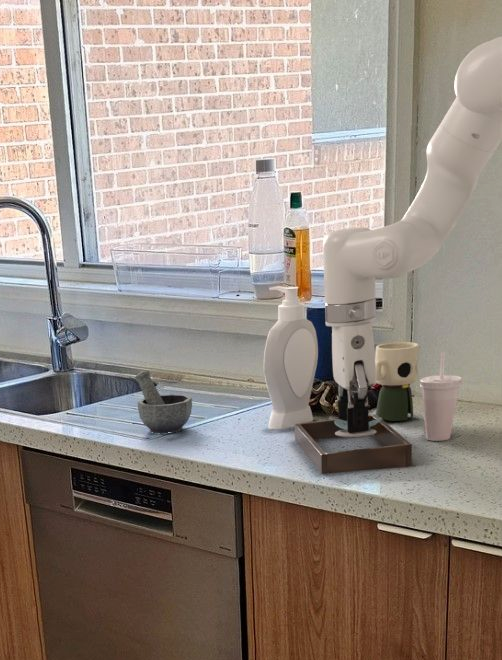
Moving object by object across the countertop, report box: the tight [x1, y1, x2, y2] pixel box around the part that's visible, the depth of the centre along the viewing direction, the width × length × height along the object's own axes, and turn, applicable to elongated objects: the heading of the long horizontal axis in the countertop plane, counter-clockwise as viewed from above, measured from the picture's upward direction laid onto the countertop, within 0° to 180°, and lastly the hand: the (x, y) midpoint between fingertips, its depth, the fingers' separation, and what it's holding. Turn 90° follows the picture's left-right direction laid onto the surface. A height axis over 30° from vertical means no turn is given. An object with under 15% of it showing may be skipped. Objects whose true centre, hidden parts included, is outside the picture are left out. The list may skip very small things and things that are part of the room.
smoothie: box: [419, 351, 463, 442], centre depth 197 cm, size 6×6×14 cm
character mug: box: [375, 341, 420, 422], centre depth 213 cm, size 11×7×13 cm, turn 126°
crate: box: [294, 413, 413, 475], centre depth 198 cm, size 14×23×4 cm, turn 176°
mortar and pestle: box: [134, 370, 193, 433], centre depth 225 cm, size 11×9×12 cm
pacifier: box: [334, 396, 383, 438], centre depth 195 cm, size 7×6×6 cm
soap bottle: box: [263, 285, 319, 430], centre depth 217 cm, size 13×8×24 cm, turn 121°
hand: (353, 426), depth 196 cm, fingers closed on pacifier, 5 cm apart
